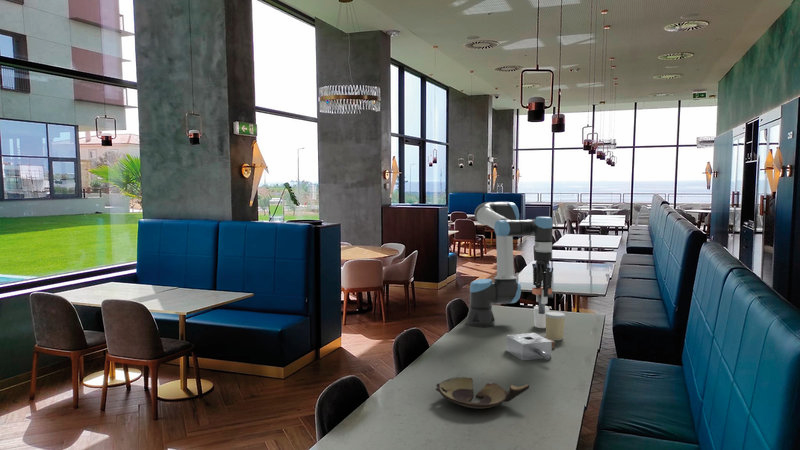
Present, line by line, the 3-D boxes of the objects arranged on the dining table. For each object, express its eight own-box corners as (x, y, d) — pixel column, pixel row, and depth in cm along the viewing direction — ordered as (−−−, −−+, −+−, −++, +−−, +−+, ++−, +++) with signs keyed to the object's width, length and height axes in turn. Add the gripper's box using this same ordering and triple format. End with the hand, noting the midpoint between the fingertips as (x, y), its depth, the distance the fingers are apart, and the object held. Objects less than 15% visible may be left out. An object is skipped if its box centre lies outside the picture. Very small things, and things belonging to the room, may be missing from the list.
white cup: (532, 327, 278) (533, 308, 277) (533, 324, 285) (534, 305, 284) (548, 329, 275) (549, 310, 274) (549, 325, 283) (549, 306, 282)
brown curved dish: (452, 385, 198) (452, 365, 198) (532, 402, 183) (533, 380, 183) (424, 407, 179) (425, 385, 178) (512, 428, 164) (512, 404, 163)
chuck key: (531, 313, 243) (532, 287, 243) (547, 311, 246) (547, 286, 245) (536, 314, 240) (536, 289, 239) (551, 313, 243) (551, 288, 242)
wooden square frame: (530, 344, 249) (530, 338, 249) (545, 343, 251) (545, 336, 251) (539, 349, 241) (539, 343, 241) (554, 348, 244) (555, 341, 243)
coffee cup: (562, 335, 264) (563, 311, 263) (566, 341, 254) (567, 316, 254) (543, 335, 265) (543, 311, 264) (546, 340, 255) (547, 315, 254)
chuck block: (506, 350, 240) (506, 335, 239) (533, 347, 244) (534, 332, 243) (533, 367, 218) (534, 350, 217) (563, 364, 222) (564, 347, 221)
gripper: (525, 249, 248) (524, 299, 249) (546, 253, 232) (544, 307, 234) (540, 248, 250) (538, 298, 252) (561, 253, 234) (559, 306, 236)
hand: (541, 302), depth 243 cm, fingers closed on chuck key, 3 cm apart
